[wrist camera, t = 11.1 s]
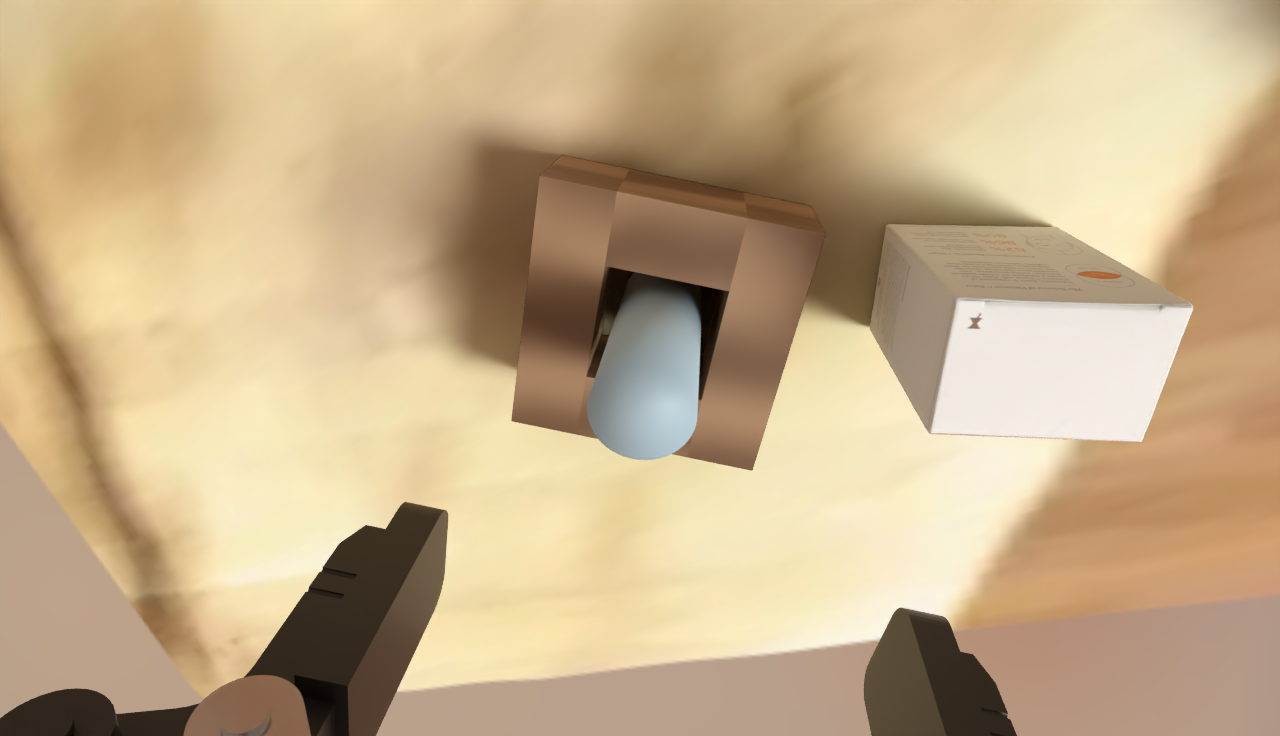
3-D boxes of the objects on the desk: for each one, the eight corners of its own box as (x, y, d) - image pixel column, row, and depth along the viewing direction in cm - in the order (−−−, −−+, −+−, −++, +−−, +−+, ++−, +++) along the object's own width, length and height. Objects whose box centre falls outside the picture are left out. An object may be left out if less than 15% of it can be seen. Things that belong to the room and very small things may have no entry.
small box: (866, 328, 36) (921, 437, 26) (884, 219, 33) (951, 297, 24) (1030, 334, 35) (1146, 448, 26) (1060, 224, 33) (1200, 305, 23)
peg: (632, 252, 35) (596, 353, 24) (710, 268, 35) (708, 376, 24) (618, 324, 37) (579, 447, 26) (693, 340, 37) (684, 469, 26)
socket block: (562, 155, 33) (539, 175, 29) (810, 205, 33) (825, 234, 29) (534, 375, 39) (511, 421, 34) (747, 418, 39) (752, 470, 34)
